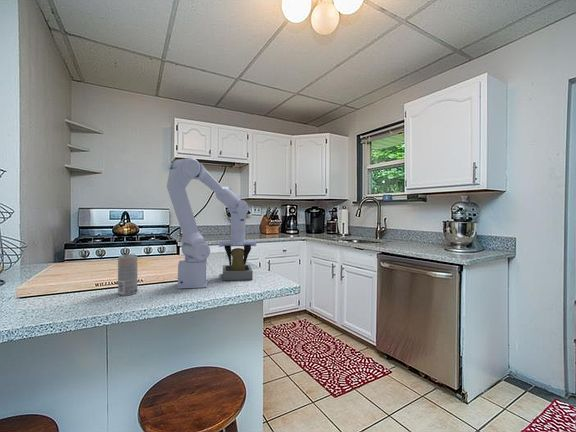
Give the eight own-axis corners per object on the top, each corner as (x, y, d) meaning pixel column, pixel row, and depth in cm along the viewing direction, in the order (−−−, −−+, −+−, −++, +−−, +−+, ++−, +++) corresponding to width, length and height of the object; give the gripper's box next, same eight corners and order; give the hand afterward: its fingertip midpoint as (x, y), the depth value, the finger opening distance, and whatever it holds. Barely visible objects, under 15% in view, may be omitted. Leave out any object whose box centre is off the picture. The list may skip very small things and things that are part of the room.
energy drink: (134, 289, 94) (134, 253, 94) (139, 293, 91) (139, 256, 90) (116, 292, 91) (115, 255, 90) (120, 297, 87) (120, 258, 86)
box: (222, 281, 107) (223, 271, 106) (222, 273, 117) (222, 265, 117) (252, 280, 109) (252, 271, 109) (249, 272, 120) (249, 264, 120)
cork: (245, 278, 110) (245, 249, 109) (229, 278, 109) (229, 250, 108) (246, 273, 116) (245, 246, 115) (231, 274, 115) (230, 247, 114)
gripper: (219, 231, 107) (218, 267, 107) (257, 231, 110) (257, 266, 111) (218, 229, 113) (218, 263, 114) (255, 229, 117) (254, 262, 118)
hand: (237, 264), depth 113 cm, fingers closed on cork, 5 cm apart
